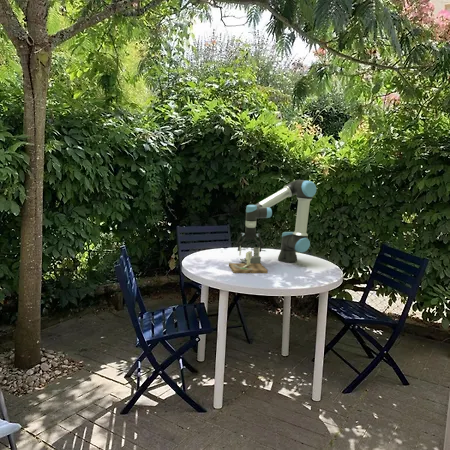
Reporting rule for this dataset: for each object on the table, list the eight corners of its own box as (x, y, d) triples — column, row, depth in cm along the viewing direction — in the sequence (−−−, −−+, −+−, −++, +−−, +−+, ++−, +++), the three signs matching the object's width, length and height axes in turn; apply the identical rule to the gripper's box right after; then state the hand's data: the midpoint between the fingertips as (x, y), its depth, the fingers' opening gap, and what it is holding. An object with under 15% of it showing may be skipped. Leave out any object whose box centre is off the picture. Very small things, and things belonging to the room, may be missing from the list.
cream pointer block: (248, 264, 306) (249, 251, 305) (251, 264, 305) (252, 251, 304) (241, 268, 295) (242, 254, 293) (245, 268, 294) (246, 255, 292)
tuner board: (260, 266, 311) (260, 263, 311) (267, 273, 293) (267, 270, 293) (228, 265, 307) (228, 262, 307) (233, 273, 289) (234, 270, 288)
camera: (262, 249, 315) (243, 249, 311) (261, 264, 317) (242, 264, 313) (258, 246, 323) (240, 247, 319) (257, 261, 325) (239, 262, 321)
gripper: (232, 226, 295) (231, 255, 299) (268, 228, 293) (266, 257, 297) (233, 224, 303) (232, 253, 306) (268, 226, 301) (266, 255, 304)
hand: (249, 255), depth 302 cm, fingers open, 13 cm apart
